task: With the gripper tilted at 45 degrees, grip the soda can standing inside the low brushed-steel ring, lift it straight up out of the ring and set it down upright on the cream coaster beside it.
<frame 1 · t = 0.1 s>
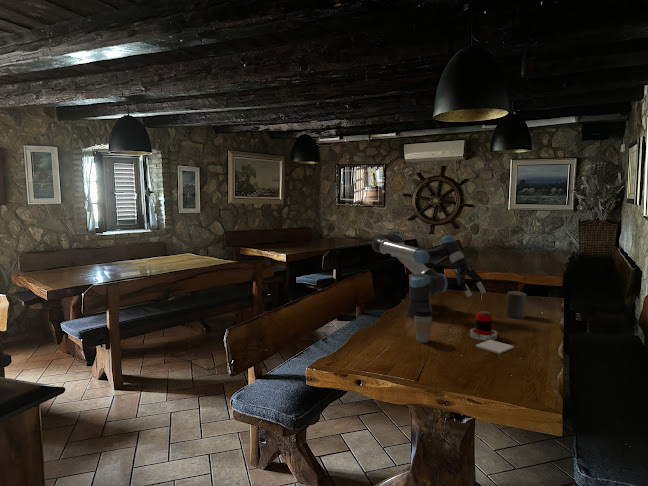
hand: (477, 294, 236), 15 cm above the table, tool tilted 35°, fingers open, 13 cm apart
coffee cup: (422, 340, 208), on the table
cream coaster: (494, 347, 198), on the table
soda can: (483, 336, 213), resting in steel ring holder
pillar candle: (515, 316, 248), on the table
steel ring holder: (483, 336, 213), on the table
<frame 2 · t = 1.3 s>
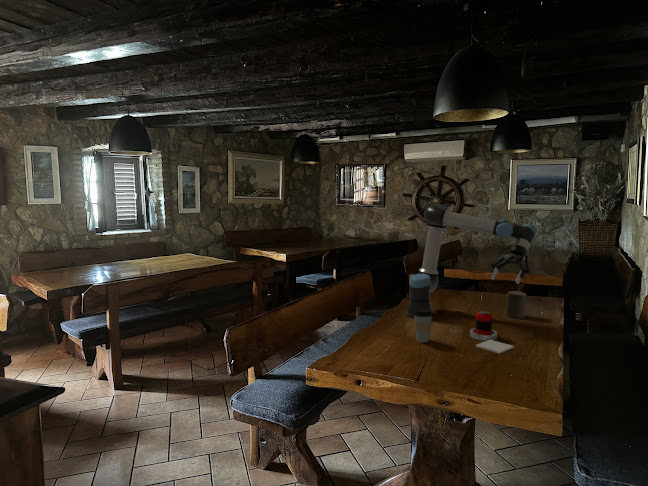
hand: (503, 280, 221), 26 cm above the table, tool tilted 45°, fingers open, 13 cm apart
nothing on the table moved.
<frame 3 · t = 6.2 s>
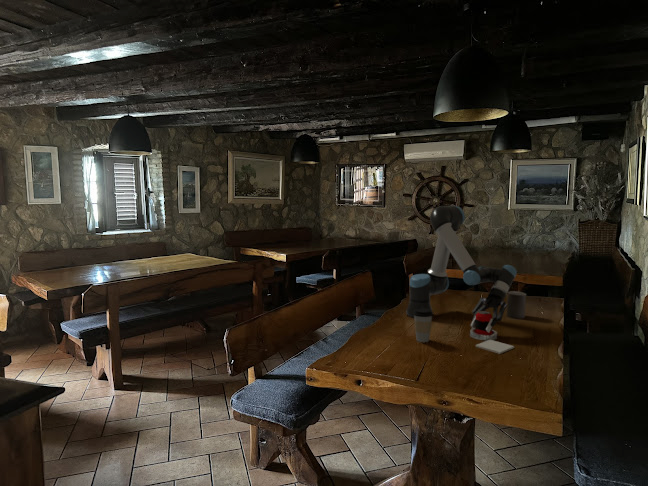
hand: (479, 329, 211), 4 cm above the table, tool tilted 45°, fingers closed on soda can, 7 cm apart
soda can: (483, 336, 213), resting in steel ring holder, touching gripper
everything else where it was.
when the fingers open (7 cm above the table, at t = 12.6 s): soda can drops 1 cm, resting on cream coaster.
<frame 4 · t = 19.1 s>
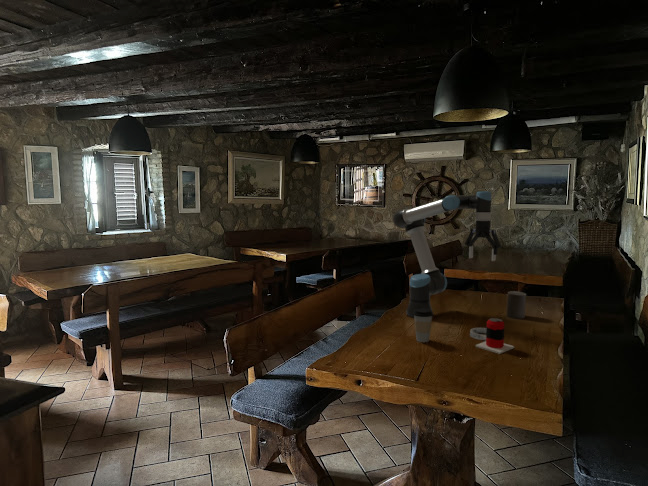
hand: (482, 259, 234), 35 cm above the table, tool pointing down, fingers open, 13 cm apart
soda can: (494, 345, 198), point 1 cm above the table, touching cream coaster
everything else where it was.
at the end: soda can inside the target area on the cream coaster (0.1 cm from its centre), point 0.6 cm above the cream coaster's base; soda can tilted 0°; the gripper is holding nothing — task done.
